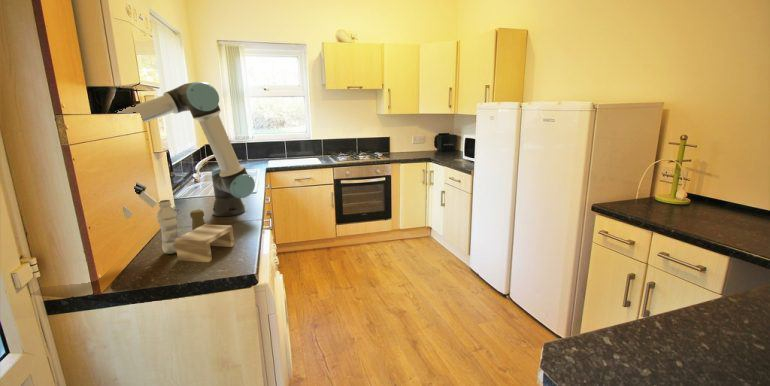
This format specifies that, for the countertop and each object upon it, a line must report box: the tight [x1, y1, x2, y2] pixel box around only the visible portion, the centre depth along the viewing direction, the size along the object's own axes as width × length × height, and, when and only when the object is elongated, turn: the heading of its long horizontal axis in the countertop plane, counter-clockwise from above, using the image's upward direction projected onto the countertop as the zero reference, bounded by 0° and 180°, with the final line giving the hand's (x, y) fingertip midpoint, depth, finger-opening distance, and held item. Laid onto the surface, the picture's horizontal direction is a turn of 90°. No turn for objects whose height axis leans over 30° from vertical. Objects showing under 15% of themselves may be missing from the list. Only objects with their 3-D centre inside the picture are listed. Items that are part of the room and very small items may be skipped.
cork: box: [189, 209, 206, 231], centre depth 151 cm, size 6×6×11 cm
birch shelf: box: [175, 223, 235, 263], centre depth 134 cm, size 16×12×8 cm
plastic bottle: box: [156, 199, 180, 255], centre depth 133 cm, size 6×7×20 cm
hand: (143, 210), depth 130 cm, fingers open, 13 cm apart
